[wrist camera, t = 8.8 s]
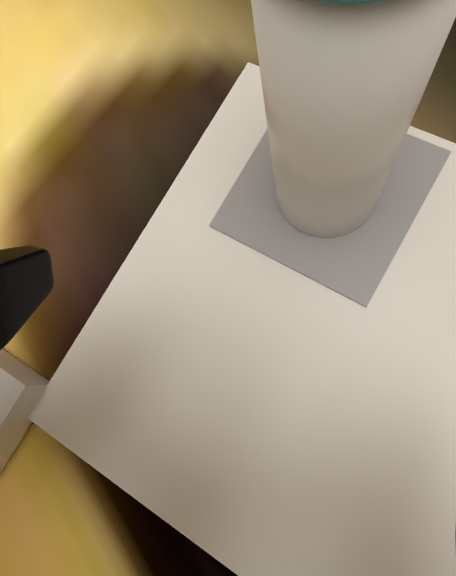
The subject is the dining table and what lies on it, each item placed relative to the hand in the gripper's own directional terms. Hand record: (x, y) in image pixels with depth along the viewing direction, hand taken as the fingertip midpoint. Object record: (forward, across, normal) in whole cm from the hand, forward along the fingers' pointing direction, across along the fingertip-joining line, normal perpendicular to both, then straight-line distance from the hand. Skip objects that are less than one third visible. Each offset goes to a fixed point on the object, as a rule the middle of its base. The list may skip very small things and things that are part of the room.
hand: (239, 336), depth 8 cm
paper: (+7, -1, +5) cm, 9 cm away
